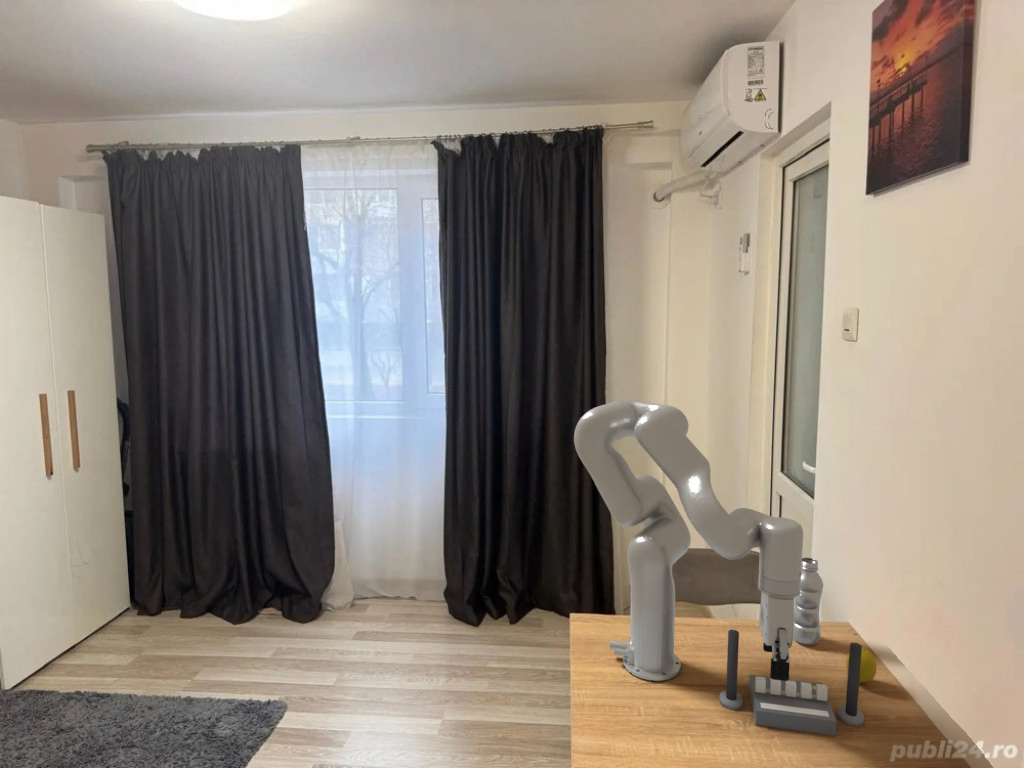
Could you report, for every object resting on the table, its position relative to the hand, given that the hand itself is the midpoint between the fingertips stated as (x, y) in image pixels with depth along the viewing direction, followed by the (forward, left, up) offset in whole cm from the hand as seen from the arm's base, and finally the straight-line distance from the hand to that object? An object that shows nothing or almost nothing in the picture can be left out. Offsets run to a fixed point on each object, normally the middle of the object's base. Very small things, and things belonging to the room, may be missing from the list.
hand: (775, 664), depth 126 cm
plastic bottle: (+11, +28, -10) cm, 32 cm away
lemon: (+19, +13, -10) cm, 25 cm away
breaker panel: (+3, 0, -9) cm, 10 cm away
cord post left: (-8, 0, -9) cm, 12 cm away
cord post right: (+14, 0, -9) cm, 17 cm away
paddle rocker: (+3, 0, -6) cm, 7 cm away
